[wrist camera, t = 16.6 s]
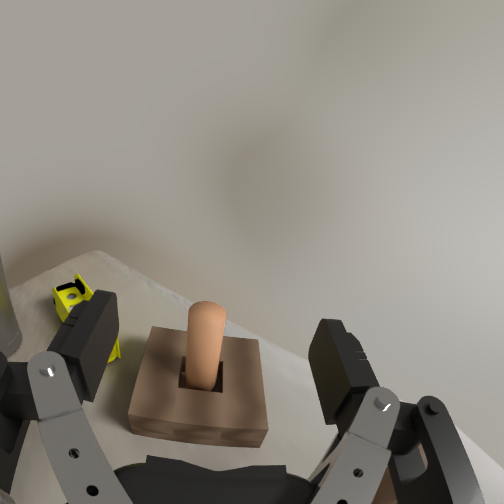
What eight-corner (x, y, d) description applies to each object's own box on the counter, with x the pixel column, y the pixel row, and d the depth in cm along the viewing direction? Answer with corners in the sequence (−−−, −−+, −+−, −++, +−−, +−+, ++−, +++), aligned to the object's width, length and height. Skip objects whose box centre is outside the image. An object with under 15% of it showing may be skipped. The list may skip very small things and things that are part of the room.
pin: (183, 400, 35) (186, 322, 29) (185, 377, 39) (190, 299, 33) (214, 402, 36) (226, 327, 30) (214, 380, 40) (226, 303, 33)
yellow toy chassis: (123, 360, 41) (118, 319, 37) (93, 374, 37) (83, 333, 33) (81, 306, 49) (76, 267, 46) (56, 315, 45) (48, 276, 41)
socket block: (132, 433, 30) (127, 413, 28) (152, 349, 44) (152, 326, 42) (259, 447, 32) (268, 429, 30) (252, 361, 46) (258, 339, 44)
